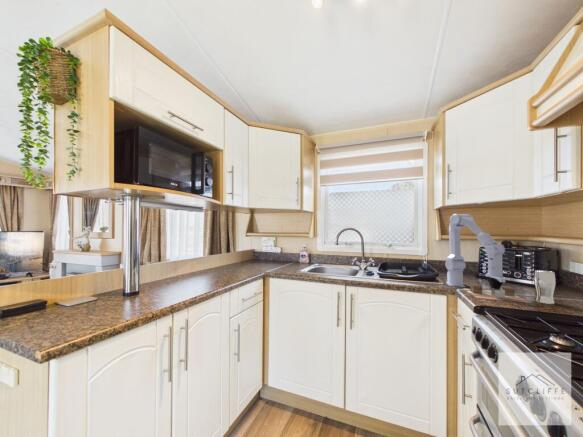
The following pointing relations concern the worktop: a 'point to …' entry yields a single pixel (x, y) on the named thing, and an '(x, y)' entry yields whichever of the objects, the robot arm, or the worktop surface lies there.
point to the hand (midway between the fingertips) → (495, 293)
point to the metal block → (498, 293)
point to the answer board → (488, 295)
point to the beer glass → (545, 286)
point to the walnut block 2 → (508, 291)
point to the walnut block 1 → (476, 288)
